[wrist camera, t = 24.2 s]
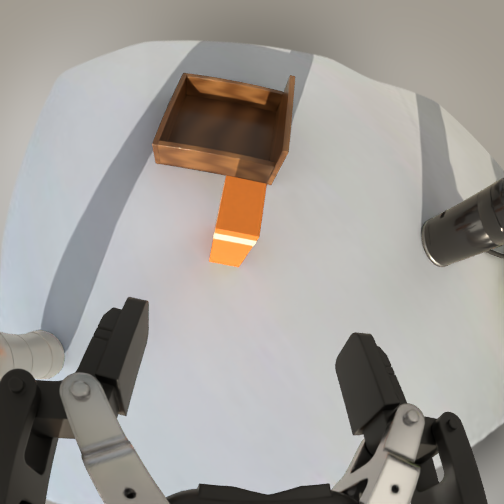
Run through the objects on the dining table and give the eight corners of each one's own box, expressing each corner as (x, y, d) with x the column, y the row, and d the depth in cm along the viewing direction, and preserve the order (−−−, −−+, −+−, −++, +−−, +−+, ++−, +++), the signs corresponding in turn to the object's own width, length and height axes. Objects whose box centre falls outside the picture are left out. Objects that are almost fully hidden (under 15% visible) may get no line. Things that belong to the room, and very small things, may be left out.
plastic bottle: (77, 365, 31) (-14, 387, 12) (44, 383, 29) (-48, 408, 10) (56, 322, 32) (-41, 308, 13) (25, 342, 30) (-72, 339, 11)
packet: (245, 227, 40) (267, 183, 28) (239, 267, 39) (259, 237, 26) (216, 221, 40) (225, 174, 27) (208, 261, 38) (214, 229, 26)
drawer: (280, 111, 47) (295, 76, 39) (271, 185, 43) (288, 152, 34) (183, 92, 45) (183, 54, 36) (155, 163, 40) (148, 126, 32)
